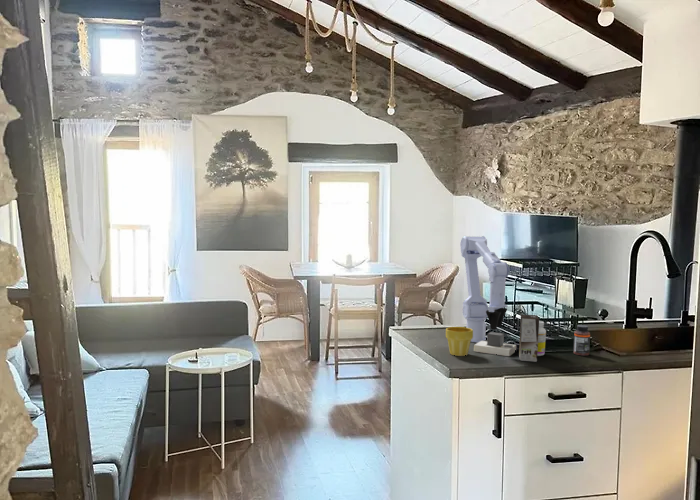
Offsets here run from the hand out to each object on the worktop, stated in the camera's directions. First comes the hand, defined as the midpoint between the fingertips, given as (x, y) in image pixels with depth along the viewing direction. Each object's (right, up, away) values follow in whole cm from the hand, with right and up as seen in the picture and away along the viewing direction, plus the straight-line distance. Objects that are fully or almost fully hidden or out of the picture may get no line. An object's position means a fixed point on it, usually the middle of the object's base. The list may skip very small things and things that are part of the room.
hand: (495, 327), depth 261 cm
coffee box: (+10, -11, -10) cm, 17 cm away
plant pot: (-16, -10, -6) cm, 19 cm away
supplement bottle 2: (+33, -11, -1) cm, 35 cm away
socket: (0, -9, +1) cm, 9 cm away
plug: (0, -9, +1) cm, 9 cm away
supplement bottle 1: (+15, -10, -2) cm, 18 cm away
